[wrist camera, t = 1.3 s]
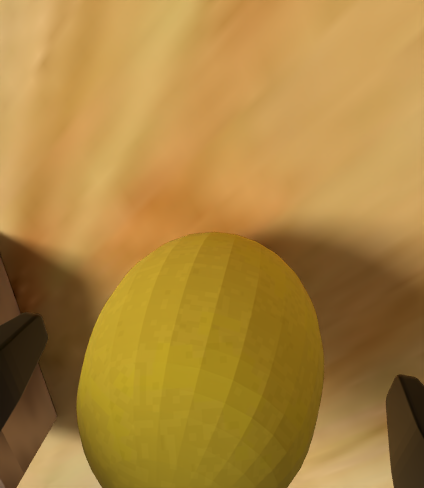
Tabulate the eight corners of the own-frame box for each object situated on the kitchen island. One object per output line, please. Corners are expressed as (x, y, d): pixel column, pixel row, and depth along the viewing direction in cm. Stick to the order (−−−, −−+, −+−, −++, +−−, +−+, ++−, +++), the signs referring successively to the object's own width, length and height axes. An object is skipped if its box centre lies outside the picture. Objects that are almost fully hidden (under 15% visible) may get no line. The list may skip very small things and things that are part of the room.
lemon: (301, 168, 10) (303, 461, 4) (327, 315, 13) (355, 638, 6) (127, 202, 12) (-78, 444, 6) (181, 326, 15) (86, 590, 8)
